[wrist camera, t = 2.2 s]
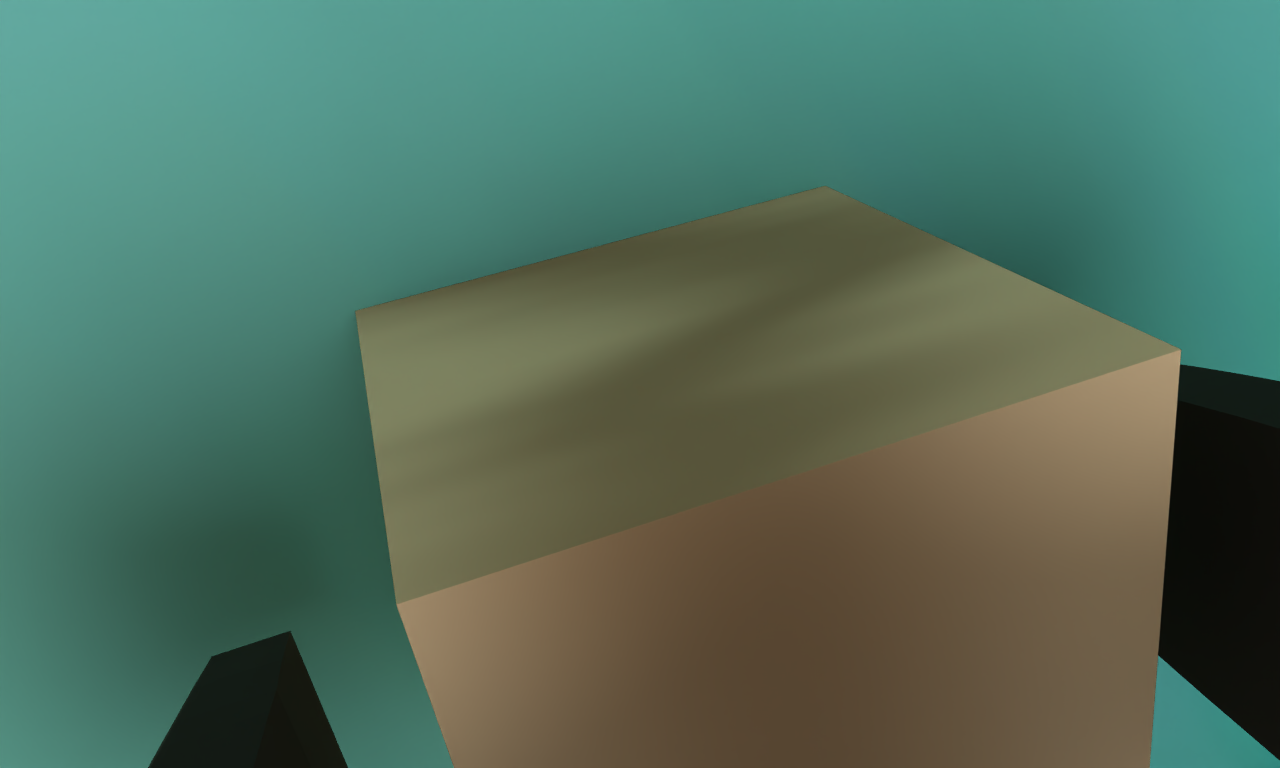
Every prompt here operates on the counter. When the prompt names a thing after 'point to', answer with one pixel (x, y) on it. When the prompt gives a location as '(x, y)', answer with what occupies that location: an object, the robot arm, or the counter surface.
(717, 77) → the counter surface
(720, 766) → the maple cube
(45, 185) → the counter surface
